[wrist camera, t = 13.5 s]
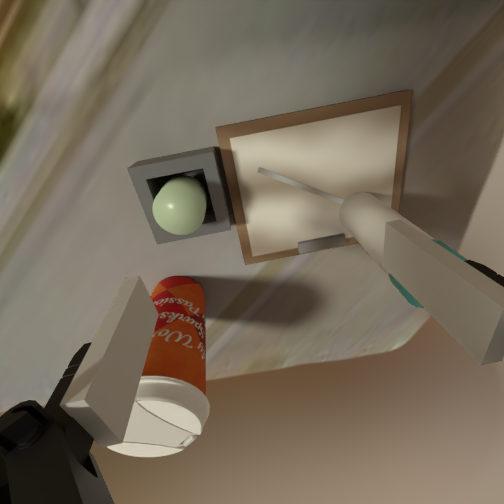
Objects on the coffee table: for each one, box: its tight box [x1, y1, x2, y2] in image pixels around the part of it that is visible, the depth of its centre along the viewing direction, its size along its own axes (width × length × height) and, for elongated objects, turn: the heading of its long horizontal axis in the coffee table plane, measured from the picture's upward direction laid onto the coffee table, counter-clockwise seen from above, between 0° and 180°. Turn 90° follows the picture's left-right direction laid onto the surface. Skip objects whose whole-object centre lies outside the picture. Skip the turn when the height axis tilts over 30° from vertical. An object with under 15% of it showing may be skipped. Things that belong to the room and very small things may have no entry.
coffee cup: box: [107, 276, 210, 457], centre depth 25 cm, size 8×8×15 cm
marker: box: [339, 192, 467, 308], centre depth 22 cm, size 4×4×12 cm
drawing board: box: [216, 90, 413, 265], centre depth 26 cm, size 14×17×2 cm
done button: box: [152, 175, 207, 235], centre depth 22 cm, size 4×4×4 cm
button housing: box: [127, 147, 231, 244], centre depth 24 cm, size 7×7×3 cm
